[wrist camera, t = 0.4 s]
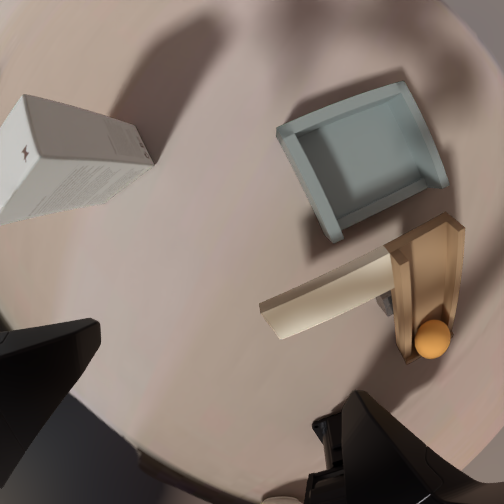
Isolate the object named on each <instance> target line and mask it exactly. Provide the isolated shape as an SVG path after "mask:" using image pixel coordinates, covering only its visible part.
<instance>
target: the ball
mask: <svg viewBox="0 0 504 504" xmlns="http://www.w3.org/2000/svg"><path fill="white" fill-rule="evenodd" d="M450 338H451V336H450V331H449V328H448V326H447V325H446V324H445V323H444V322H442V321H440V320H429V321H427V322H425V323H424V324H422V325H421V326H420V328H419V329H418V331H417V333H416V335H415V347H416V350H417V352H418V353H419V354H420V355H421V356H422V357H424V358H427V359H434V358H437V357H439V356H441V355H442V354H443V353H444V352H445V351H446V350H447V348H448V346H449V344H450Z"/></svg>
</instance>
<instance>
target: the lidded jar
mask: <svg viewBox="0 0 504 504" xmlns="http://www.w3.org/2000/svg"><path fill="white" fill-rule="evenodd" d="M260 504H303V503H301V502H299V501H298V499H297V498H294V497H288V496H278V497H270V498H267V499H265V500H264V501H263V502H262V503H260Z"/></svg>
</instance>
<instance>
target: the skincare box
mask: <svg viewBox="0 0 504 504" xmlns="http://www.w3.org/2000/svg"><path fill="white" fill-rule="evenodd" d="M153 166H154V163H153V161H152V159H151V157H150V155H149V153H148V151H147V150H146V147H145V145H144V143H143V141H142V139H141V137H140V135H139V133H138V131H137V129H136V127H135V126H134V125H132V124H129V123H126V122H123V121H120V120H117V119H114V118H111V117H108V116H105V115H102V114H99V113H95V112H92V111H89V110H85V109H82V108H78V107H75V106H71V105H68V104H64V103H60V102H56V101H52V100H48V99H44V98H40V97H36V96H31V95H27V94H23V95H22V96H21V97H20V99H19V100H18V102H17V103H16V104H15V106H14V107H13V109H12V110H11V112H10V113H9V115H8V116H7V118H6V119H5V121H4V122H3V124H2V126H1V127H0V226H1V225H5V224H9V223H13V222H17V221H21V220H25V219H29V218H34V217H38V216H43V215H48V214H52V213H57V212H62V211H67V210H72V209H77V208H83V207H88V206H94V205H100V204H104V203H106V202H107V201H108V200H109V199H111V198H112V197H113V196H114V195H116V194H117V193H118V192H120V191H121V190H122V189H123V188H125V187H126V186H127V185H129V184H130V183H131V182H133V181H134V180H135V179H137V178H138V177H139V176H141V175H142V174H143V173H145V172H146V171H148V170H149V169H151V168H152V167H153Z"/></svg>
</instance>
